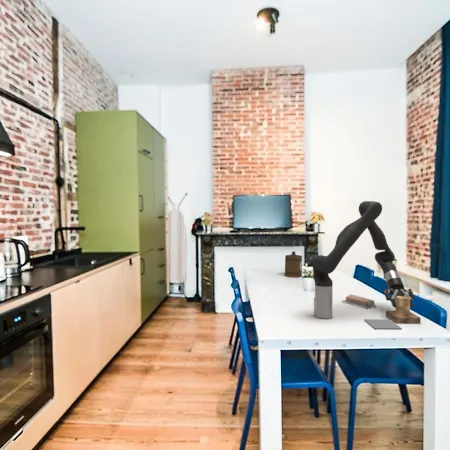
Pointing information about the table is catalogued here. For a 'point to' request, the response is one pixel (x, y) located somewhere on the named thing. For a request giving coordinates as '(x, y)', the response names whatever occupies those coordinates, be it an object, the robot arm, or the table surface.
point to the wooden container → (293, 265)
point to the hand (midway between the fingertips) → (403, 307)
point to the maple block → (402, 306)
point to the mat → (382, 324)
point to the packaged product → (359, 301)
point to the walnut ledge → (403, 318)
